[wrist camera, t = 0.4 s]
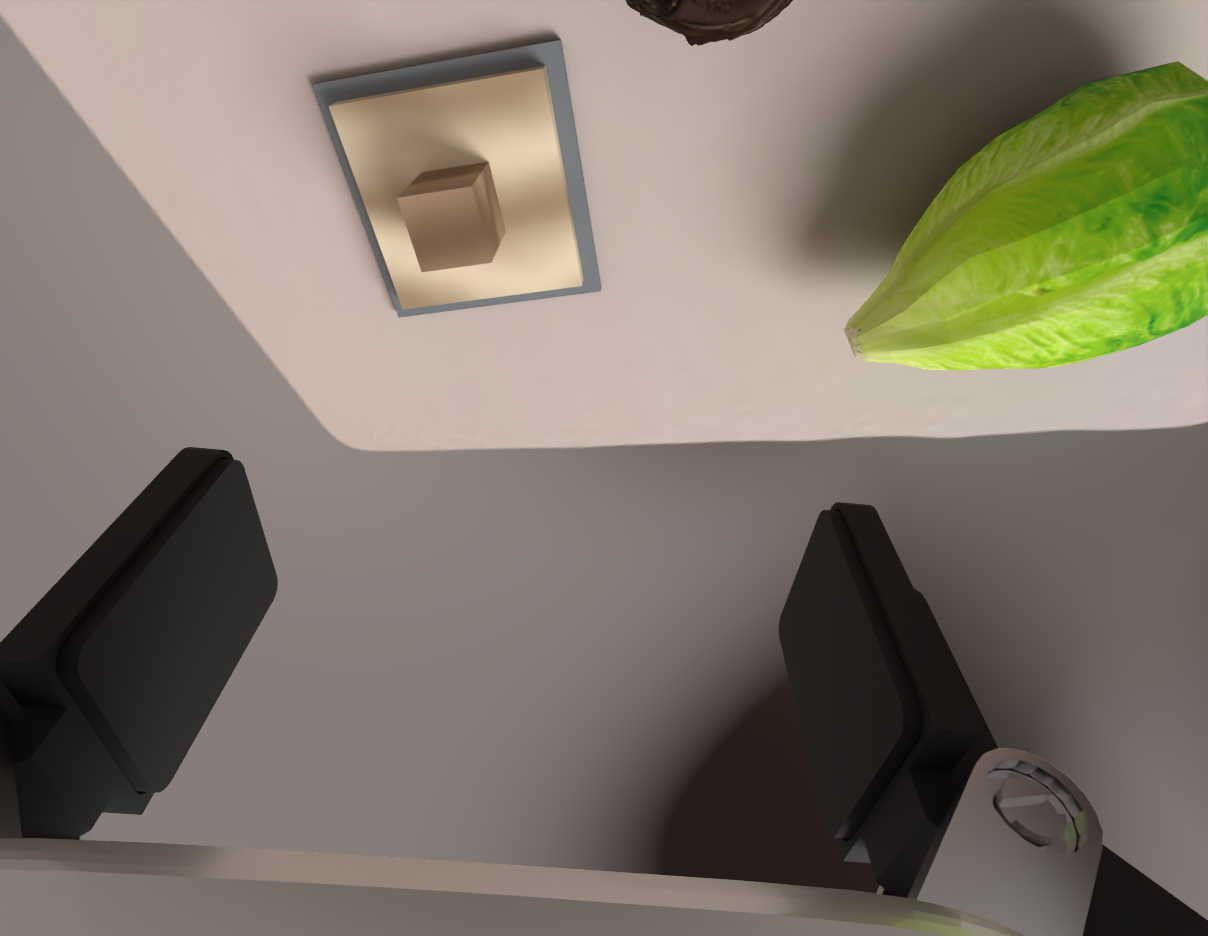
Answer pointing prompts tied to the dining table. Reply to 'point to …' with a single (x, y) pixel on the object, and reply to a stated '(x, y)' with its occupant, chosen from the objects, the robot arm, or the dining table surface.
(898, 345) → the lettuce
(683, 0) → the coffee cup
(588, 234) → the mat
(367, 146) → the lid
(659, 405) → the dining table surface
